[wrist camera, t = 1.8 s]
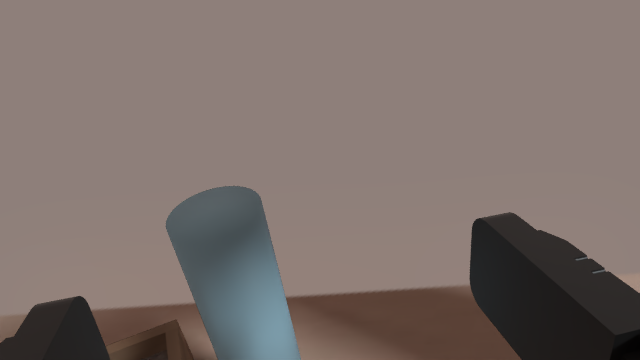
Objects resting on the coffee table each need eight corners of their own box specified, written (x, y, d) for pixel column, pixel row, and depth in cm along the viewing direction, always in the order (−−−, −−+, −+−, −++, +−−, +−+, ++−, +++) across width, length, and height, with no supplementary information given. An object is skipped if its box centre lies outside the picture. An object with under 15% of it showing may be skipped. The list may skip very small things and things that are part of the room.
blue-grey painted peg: (303, 387, 28) (249, 177, 20) (326, 444, 25) (272, 219, 17) (244, 414, 27) (162, 203, 19) (260, 477, 24) (169, 255, 16)
